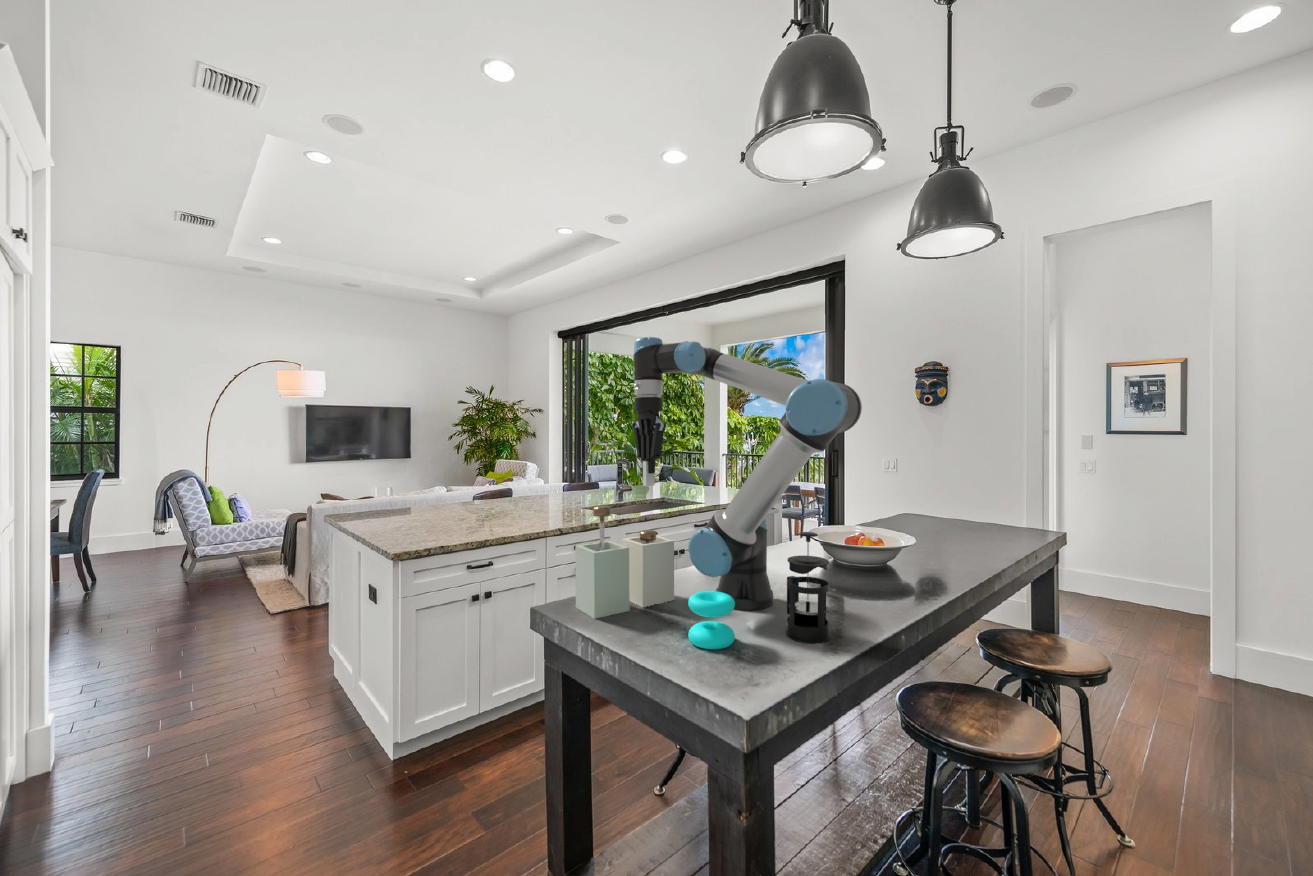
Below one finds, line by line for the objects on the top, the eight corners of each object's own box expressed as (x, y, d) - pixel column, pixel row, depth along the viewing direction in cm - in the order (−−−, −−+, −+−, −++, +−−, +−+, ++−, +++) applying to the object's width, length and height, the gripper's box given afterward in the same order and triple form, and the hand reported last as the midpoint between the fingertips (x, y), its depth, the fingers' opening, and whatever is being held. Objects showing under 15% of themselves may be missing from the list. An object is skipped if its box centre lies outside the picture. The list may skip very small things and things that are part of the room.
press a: (674, 600, 147) (674, 540, 147) (642, 607, 142) (642, 545, 141) (653, 591, 156) (652, 534, 155) (622, 597, 150) (622, 538, 149)
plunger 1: (620, 560, 140) (619, 507, 139) (596, 564, 136) (596, 510, 135) (607, 555, 145) (606, 504, 145) (584, 559, 141) (584, 506, 141)
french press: (841, 640, 120) (842, 535, 119) (806, 648, 116) (807, 539, 116) (805, 622, 131) (806, 526, 130) (772, 629, 127) (773, 529, 126)
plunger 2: (665, 582, 148) (665, 532, 147) (644, 586, 144) (644, 535, 144) (651, 576, 153) (651, 528, 153) (631, 580, 149) (630, 531, 149)
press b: (629, 610, 139) (629, 547, 139) (594, 618, 134) (594, 553, 133) (609, 600, 148) (609, 540, 147) (575, 607, 142) (575, 545, 142)
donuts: (713, 607, 112) (678, 596, 119) (713, 656, 112) (678, 641, 120) (744, 596, 119) (709, 586, 126) (744, 642, 119) (709, 630, 127)
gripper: (623, 397, 150) (624, 484, 151) (650, 395, 139) (650, 488, 140) (646, 398, 154) (647, 482, 155) (674, 396, 144) (674, 486, 144)
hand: (648, 485), depth 148 cm, fingers closed
